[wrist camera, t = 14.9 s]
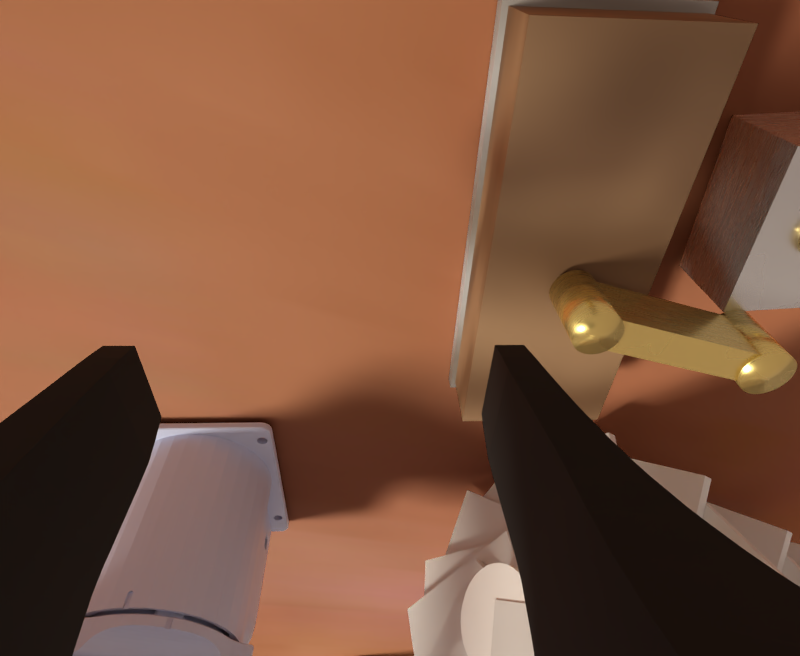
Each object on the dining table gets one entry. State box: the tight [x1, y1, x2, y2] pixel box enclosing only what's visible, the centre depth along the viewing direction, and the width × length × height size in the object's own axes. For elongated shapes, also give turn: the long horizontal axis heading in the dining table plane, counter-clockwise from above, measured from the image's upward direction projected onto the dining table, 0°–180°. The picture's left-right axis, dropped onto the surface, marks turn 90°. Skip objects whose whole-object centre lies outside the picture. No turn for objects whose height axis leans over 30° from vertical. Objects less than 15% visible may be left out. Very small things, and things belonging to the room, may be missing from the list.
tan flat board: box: [449, 0, 758, 421], centre depth 18 cm, size 16×6×3 cm, turn 178°
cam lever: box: [549, 270, 797, 394], centre depth 17 cm, size 8×2×2 cm, turn 73°
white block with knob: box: [679, 112, 800, 312], centre depth 18 cm, size 6×4×4 cm
